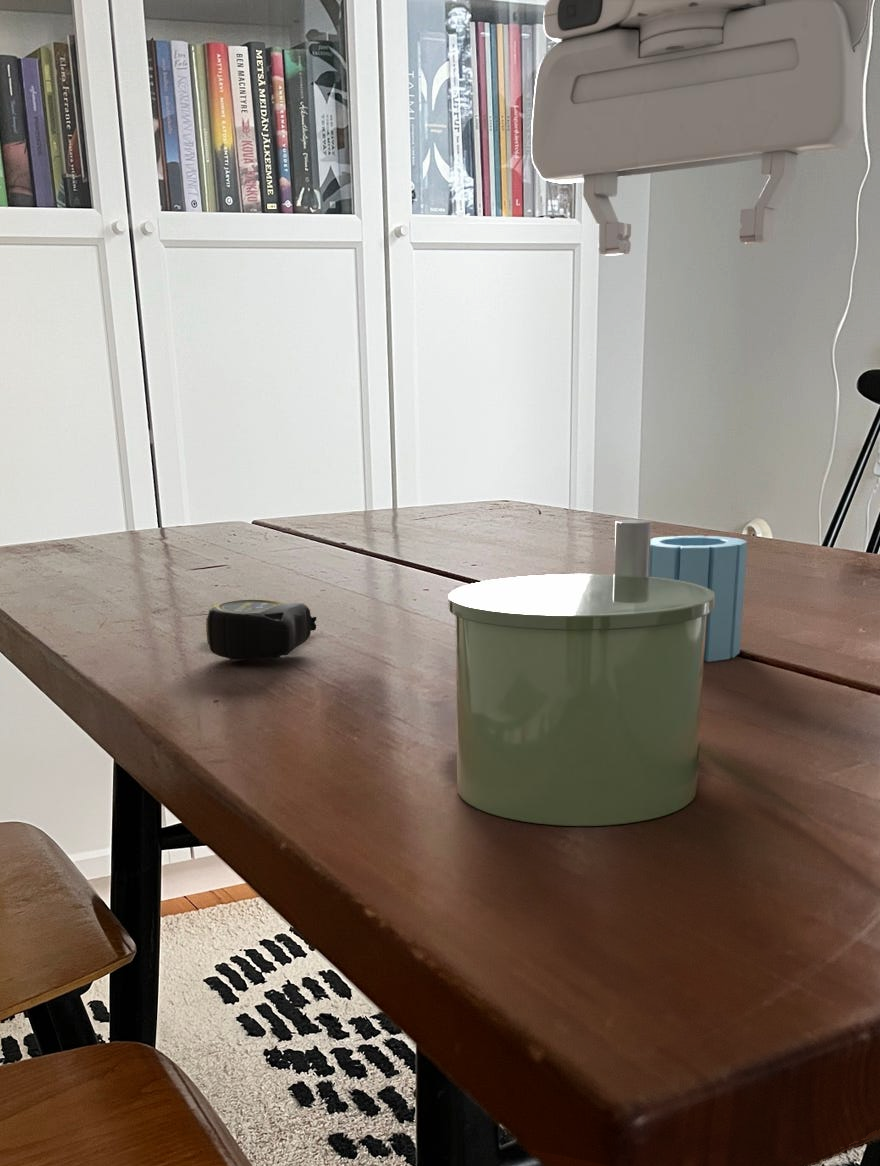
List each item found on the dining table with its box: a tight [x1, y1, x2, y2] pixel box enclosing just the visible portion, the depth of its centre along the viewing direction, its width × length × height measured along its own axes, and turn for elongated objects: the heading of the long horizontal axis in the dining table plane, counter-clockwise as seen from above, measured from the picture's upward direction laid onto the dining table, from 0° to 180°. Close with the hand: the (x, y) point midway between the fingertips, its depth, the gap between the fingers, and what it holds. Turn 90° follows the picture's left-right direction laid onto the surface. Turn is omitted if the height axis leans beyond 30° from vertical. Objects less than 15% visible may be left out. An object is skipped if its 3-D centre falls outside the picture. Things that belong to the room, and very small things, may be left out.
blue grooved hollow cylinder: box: [649, 535, 748, 663], centre depth 81 cm, size 6×7×8 cm
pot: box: [447, 519, 715, 827], centre depth 60 cm, size 20×12×11 cm, turn 158°
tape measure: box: [205, 599, 317, 663], centre depth 88 cm, size 7×7×4 cm
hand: (682, 248), depth 79 cm, fingers open, 8 cm apart
